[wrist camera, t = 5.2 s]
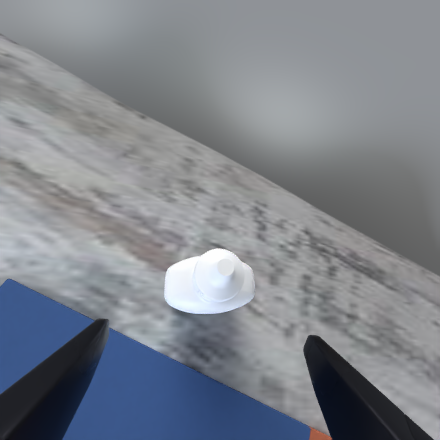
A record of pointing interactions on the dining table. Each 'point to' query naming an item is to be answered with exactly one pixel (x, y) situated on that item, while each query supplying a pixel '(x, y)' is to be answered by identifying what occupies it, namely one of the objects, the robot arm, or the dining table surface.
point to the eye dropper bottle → (209, 283)
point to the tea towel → (132, 383)
